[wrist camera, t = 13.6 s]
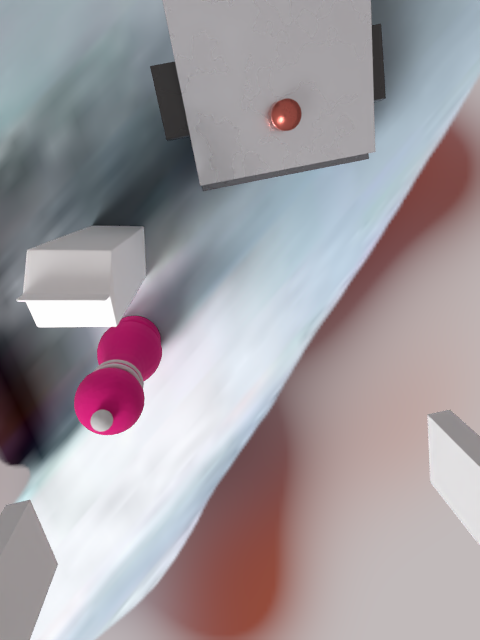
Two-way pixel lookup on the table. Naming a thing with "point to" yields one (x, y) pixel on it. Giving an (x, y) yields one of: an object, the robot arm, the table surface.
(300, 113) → the lid
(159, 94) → the gray box
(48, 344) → the table surface
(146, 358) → the pepper mill
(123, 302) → the milk
